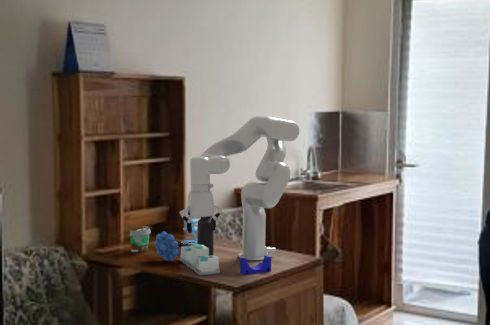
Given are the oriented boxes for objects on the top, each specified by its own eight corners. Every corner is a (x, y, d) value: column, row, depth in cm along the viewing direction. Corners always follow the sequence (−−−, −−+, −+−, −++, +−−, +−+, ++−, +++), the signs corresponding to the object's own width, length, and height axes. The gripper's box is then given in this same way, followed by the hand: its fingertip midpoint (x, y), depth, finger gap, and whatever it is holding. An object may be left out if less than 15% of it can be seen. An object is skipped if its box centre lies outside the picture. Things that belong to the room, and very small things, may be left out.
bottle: (216, 258, 299) (216, 210, 297) (201, 259, 296) (201, 211, 294) (209, 254, 305) (210, 208, 303) (194, 256, 302) (195, 209, 300)
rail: (198, 259, 296) (198, 244, 295) (219, 273, 274) (219, 257, 273) (180, 260, 293) (180, 246, 292) (199, 275, 271) (199, 259, 270)
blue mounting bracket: (265, 269, 282) (265, 254, 282) (271, 271, 278) (271, 256, 278) (238, 272, 277) (238, 257, 276) (243, 275, 273) (243, 259, 272)
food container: (142, 255, 301) (142, 231, 300) (129, 254, 303) (129, 230, 302) (155, 249, 313) (155, 226, 312) (142, 248, 315) (143, 225, 314)
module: (202, 261, 287) (202, 243, 287) (208, 265, 281) (208, 246, 280) (190, 262, 285) (190, 244, 285) (196, 267, 279) (196, 247, 278)
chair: (205, 243, 327) (206, 217, 326) (192, 246, 321) (193, 219, 320) (193, 240, 332) (194, 215, 331) (180, 243, 326) (181, 217, 325)
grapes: (148, 261, 291) (148, 232, 290) (157, 258, 297) (157, 229, 296) (173, 264, 286) (173, 235, 284) (181, 261, 292) (182, 232, 290)
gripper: (217, 185, 287) (218, 227, 289) (176, 188, 280) (177, 231, 282) (224, 187, 280) (225, 230, 282) (182, 191, 273) (183, 235, 276)
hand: (201, 231), depth 282 cm, fingers open, 9 cm apart
